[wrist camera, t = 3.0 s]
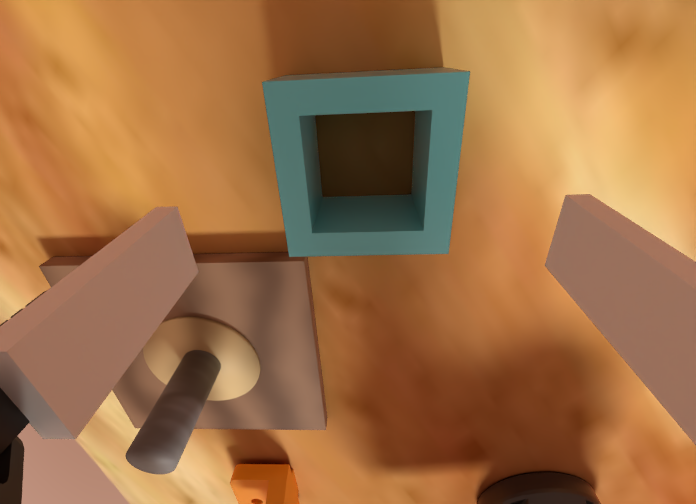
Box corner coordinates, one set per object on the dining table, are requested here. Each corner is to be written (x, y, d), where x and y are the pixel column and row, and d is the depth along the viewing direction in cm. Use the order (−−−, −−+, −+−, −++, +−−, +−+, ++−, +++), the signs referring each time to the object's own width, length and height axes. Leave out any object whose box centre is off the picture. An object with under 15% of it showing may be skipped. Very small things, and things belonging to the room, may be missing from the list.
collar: (443, 67, 21) (470, 71, 16) (431, 213, 26) (448, 253, 21) (286, 75, 21) (262, 81, 16) (303, 217, 26) (289, 256, 21)
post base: (306, 251, 28) (278, 351, 19) (327, 417, 39) (315, 533, 30) (53, 256, 29) (-95, 353, 20) (142, 416, 40) (75, 526, 31)
